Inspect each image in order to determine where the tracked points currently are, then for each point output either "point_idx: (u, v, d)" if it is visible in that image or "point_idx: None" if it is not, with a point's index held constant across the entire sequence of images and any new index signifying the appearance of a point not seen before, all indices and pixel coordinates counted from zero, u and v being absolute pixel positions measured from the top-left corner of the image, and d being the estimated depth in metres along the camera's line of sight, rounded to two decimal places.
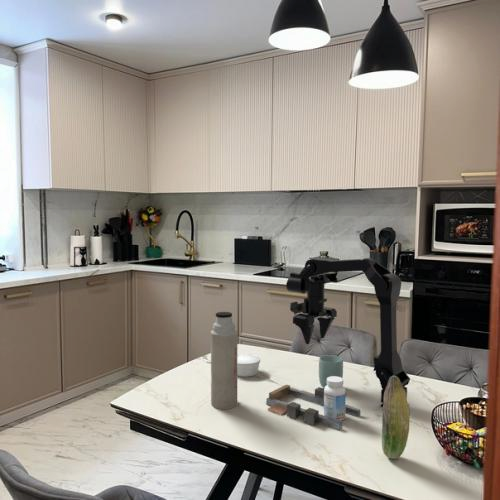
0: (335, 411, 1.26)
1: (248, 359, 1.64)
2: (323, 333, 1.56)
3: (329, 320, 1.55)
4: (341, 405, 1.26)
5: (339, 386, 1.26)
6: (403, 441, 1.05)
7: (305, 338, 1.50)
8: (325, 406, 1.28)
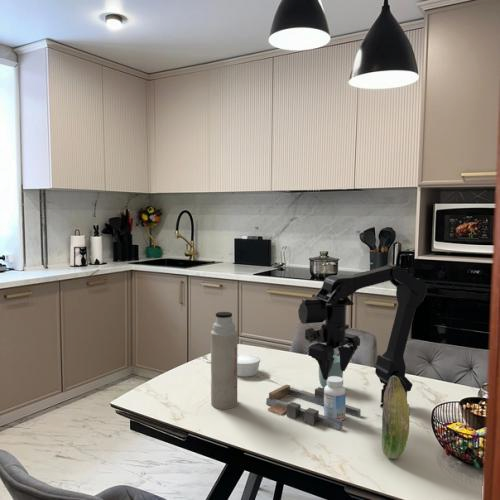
0: (335, 411, 1.26)
1: (248, 359, 1.64)
2: (344, 365, 1.32)
3: (351, 350, 1.31)
4: (341, 405, 1.26)
5: (339, 386, 1.26)
6: (403, 441, 1.05)
7: (323, 373, 1.25)
8: (325, 406, 1.28)
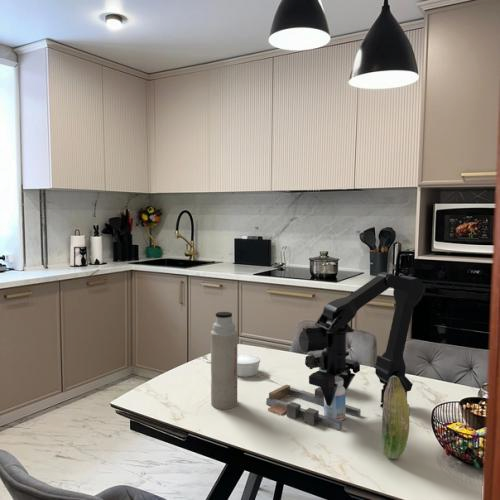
0: (335, 411, 1.26)
1: (248, 359, 1.64)
2: None
3: (349, 377, 1.30)
4: (341, 405, 1.26)
5: (339, 386, 1.26)
6: (403, 441, 1.05)
7: (326, 399, 1.26)
8: (325, 406, 1.28)
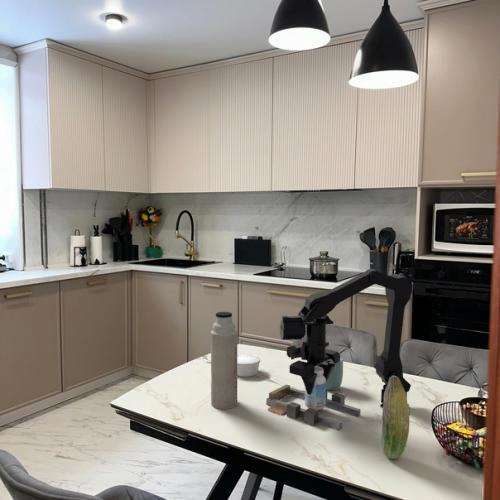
0: (315, 400, 1.30)
1: (248, 359, 1.64)
2: None
3: (329, 367, 1.34)
4: (321, 394, 1.30)
5: (319, 375, 1.31)
6: (403, 441, 1.05)
7: (307, 388, 1.30)
8: (306, 395, 1.32)
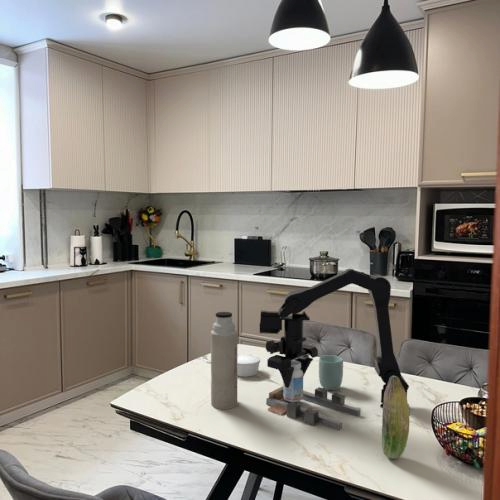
0: (293, 393, 1.35)
1: (248, 359, 1.64)
2: None
3: (307, 362, 1.39)
4: (299, 387, 1.36)
5: (296, 369, 1.36)
6: (403, 441, 1.05)
7: (284, 381, 1.35)
8: (284, 388, 1.37)
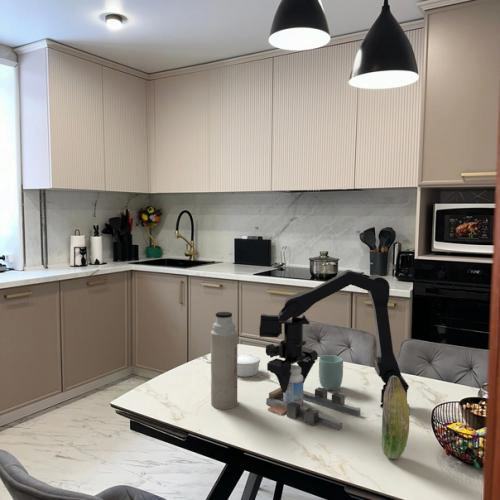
0: (293, 397, 1.35)
1: (248, 359, 1.64)
2: None
3: (309, 364, 1.40)
4: (299, 391, 1.36)
5: (297, 374, 1.36)
6: (403, 441, 1.05)
7: (281, 386, 1.34)
8: None
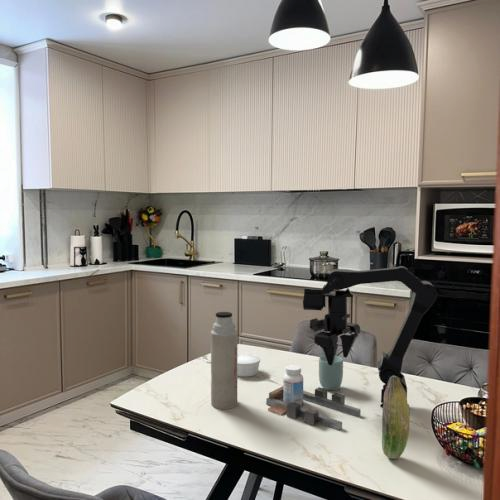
0: (293, 397, 1.35)
1: (248, 359, 1.64)
2: (346, 352, 1.42)
3: (352, 337, 1.41)
4: (299, 391, 1.36)
5: (297, 374, 1.36)
6: (403, 441, 1.05)
7: (328, 359, 1.35)
8: (284, 392, 1.37)
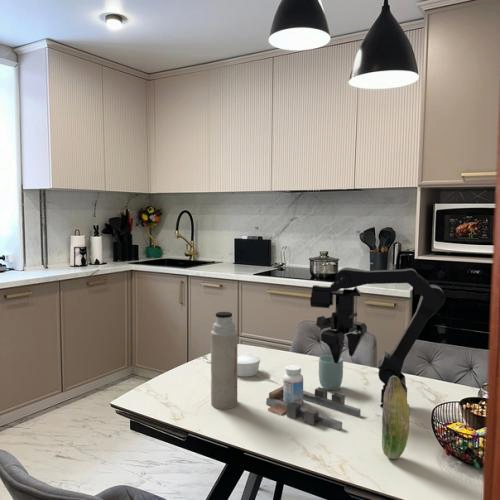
0: (293, 397, 1.35)
1: (248, 359, 1.64)
2: (352, 350, 1.43)
3: (359, 336, 1.42)
4: (299, 391, 1.36)
5: (297, 374, 1.36)
6: (403, 441, 1.05)
7: (334, 357, 1.36)
8: (284, 392, 1.37)
